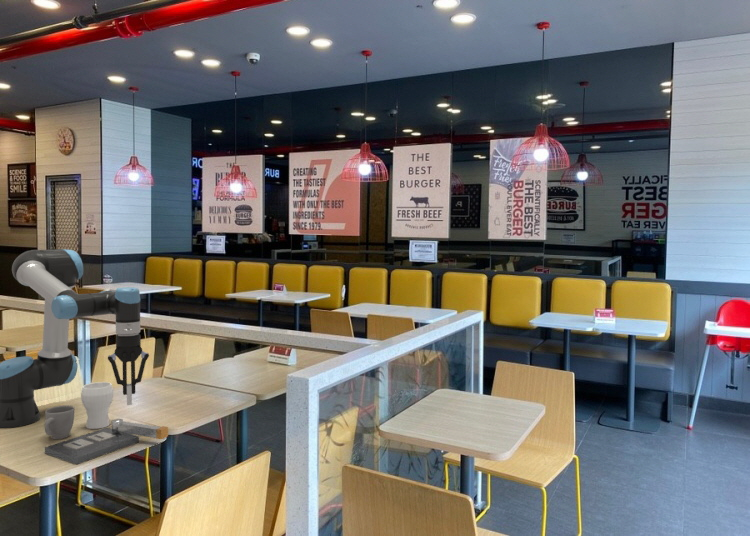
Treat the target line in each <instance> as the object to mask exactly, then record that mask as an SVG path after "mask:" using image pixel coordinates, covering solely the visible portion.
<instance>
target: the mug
mask: <svg viewBox="0 0 750 536" xmlns="http://www.w3.org/2000/svg"><path fill="white" fill-rule="evenodd" d="M44 418H45V421H44V426H43V429H44V432H45V435H46V436H50V437H51V440H62V439H66V438H69V436H70V434H71V430H72V429H73V427H74V426H73V425H74V422H75V407H74V406H72V405H59V406H58V405H57V406H52V407H49V408H47V409H46V410H45V412H44Z"/></svg>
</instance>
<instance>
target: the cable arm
mask: <svg viewBox="0 0 750 536" xmlns="http://www.w3.org/2000/svg"><path fill="white" fill-rule="evenodd" d="M111 429H112V432H120V433H127V434H132V435H136V436H139V437H141V436H142V437H148V438H153V439H156V440H164V439H165V438H167V437H168V436H169V426H164V425H162V426H156V425H150V424H143V423H136V422H130V421H124V419H123V418H114V419H112V420H111Z"/></svg>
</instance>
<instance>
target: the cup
mask: <svg viewBox="0 0 750 536" xmlns="http://www.w3.org/2000/svg"><path fill="white" fill-rule="evenodd" d="M113 398H114V387H113V384H112V383H111V382H108V381H98V382H91V383H87V384H84V385H83V386H82V388H81V392H80V400H81V403H82V406H83V407H84V410H85V411H86V417H87V419H86V426H85V427H86V429H89V430H100V429H104V428H108V427H109V426H110V425H111V424H110V418H109V411H110V406H111V404H112V403H113Z"/></svg>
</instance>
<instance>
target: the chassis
mask: <svg viewBox="0 0 750 536" xmlns="http://www.w3.org/2000/svg"><path fill="white" fill-rule="evenodd" d="M138 443H140V435H133V434H127V433H120V432H112V427H111V428H110V427H104V428H100V429H97V430H95V431H92V432H88V433H85V434H83V435H82V434H81V435H80V436H77V437H73V438H70V439H66V440H63V441H60V442H58V443H53V444H52V445H48V446H45V447H44V454H45V455H48V456H51V457H53V458H56V459H59V460H61V461H64V462H68V463H72V464H73V465H79V464H81V463H85V462H87V461H90V460H93V459H96V458H98V457H97V456H99V457H101V456H100V455H102V456H104V455H103V454H105V455H107V454H110V453H112V451H113V452H115V450H116V451H118V449H119V450H121V449H124V448H127V447H129V446H132V445H135V444H138ZM109 452H110V453H109ZM106 453H107V454H106ZM95 457H96V458H95ZM92 458H93V459H92Z"/></svg>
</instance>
